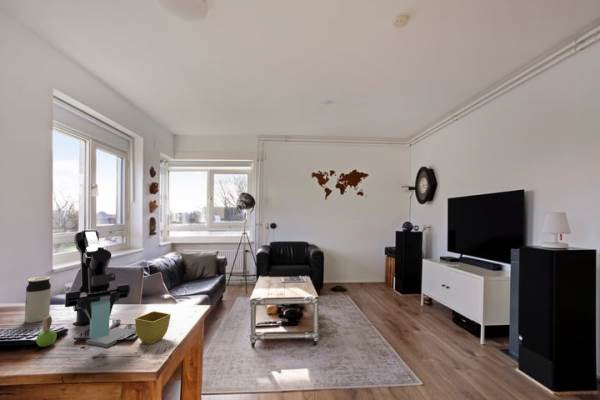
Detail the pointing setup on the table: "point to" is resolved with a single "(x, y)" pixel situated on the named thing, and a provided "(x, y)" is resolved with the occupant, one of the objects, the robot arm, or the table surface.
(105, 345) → the coaster
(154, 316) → the flower pot
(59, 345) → the table surface
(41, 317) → the travel mug
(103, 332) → the block
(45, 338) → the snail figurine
